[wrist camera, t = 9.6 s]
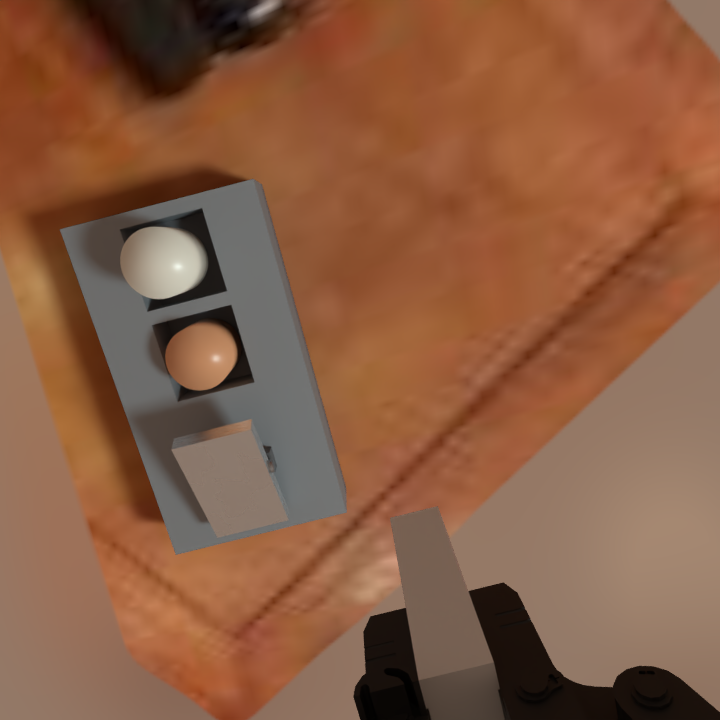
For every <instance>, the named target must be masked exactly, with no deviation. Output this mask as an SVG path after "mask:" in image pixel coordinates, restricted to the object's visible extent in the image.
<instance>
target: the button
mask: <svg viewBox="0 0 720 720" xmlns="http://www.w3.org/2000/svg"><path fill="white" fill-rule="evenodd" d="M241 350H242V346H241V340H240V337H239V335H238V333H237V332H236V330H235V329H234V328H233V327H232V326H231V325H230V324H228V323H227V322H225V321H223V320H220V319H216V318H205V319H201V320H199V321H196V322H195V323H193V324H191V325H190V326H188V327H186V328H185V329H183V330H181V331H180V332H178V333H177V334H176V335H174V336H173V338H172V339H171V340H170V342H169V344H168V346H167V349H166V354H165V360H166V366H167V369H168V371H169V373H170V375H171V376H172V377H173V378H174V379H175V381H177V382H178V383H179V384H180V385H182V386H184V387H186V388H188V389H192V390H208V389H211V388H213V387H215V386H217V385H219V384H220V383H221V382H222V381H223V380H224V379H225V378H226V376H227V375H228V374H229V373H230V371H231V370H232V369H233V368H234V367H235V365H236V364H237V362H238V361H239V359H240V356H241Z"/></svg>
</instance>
